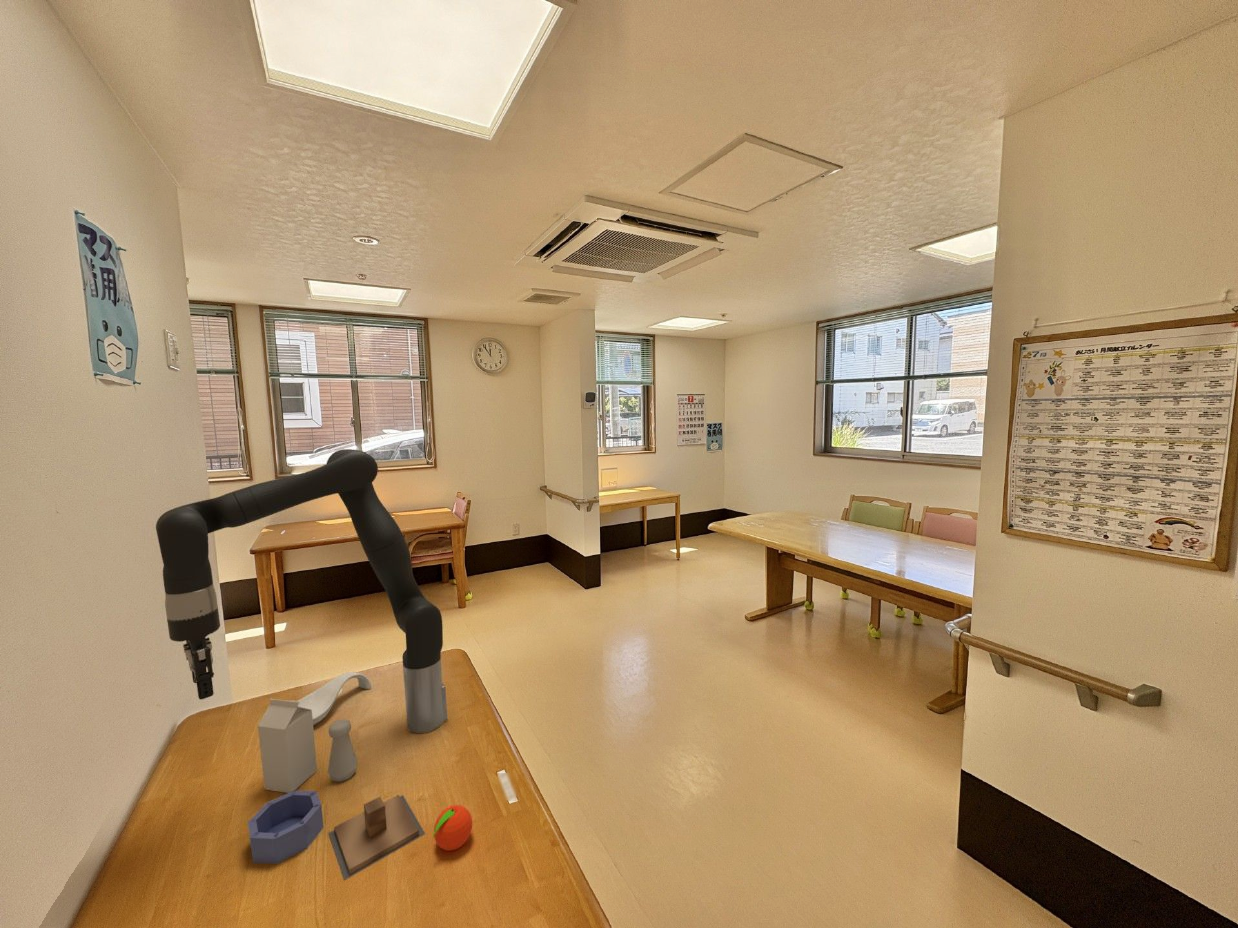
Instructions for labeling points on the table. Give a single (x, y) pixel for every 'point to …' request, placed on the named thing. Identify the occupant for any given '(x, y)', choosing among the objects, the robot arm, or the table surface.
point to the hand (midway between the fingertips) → (203, 688)
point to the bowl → (285, 826)
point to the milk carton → (286, 745)
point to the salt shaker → (341, 752)
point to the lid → (375, 832)
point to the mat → (345, 870)
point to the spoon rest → (329, 695)
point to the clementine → (453, 827)
